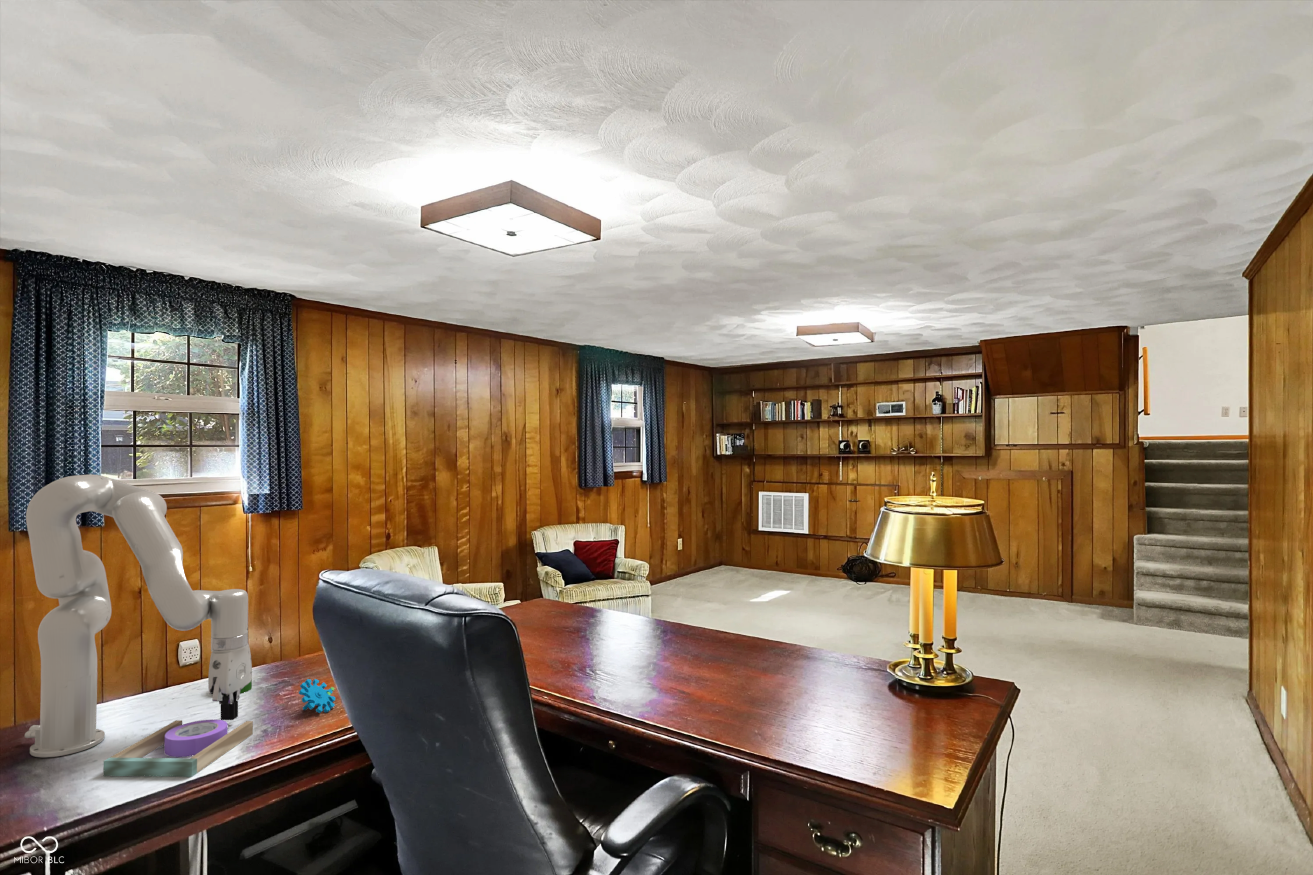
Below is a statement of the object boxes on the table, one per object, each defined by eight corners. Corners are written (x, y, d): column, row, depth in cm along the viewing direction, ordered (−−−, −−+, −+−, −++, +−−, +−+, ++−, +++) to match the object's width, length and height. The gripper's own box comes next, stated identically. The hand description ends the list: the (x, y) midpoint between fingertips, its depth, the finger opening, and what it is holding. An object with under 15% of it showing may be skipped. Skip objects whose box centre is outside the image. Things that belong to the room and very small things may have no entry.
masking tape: (178, 737, 156) (179, 720, 156) (235, 733, 159) (235, 716, 159) (153, 760, 145) (154, 742, 145) (215, 755, 148) (215, 737, 148)
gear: (316, 713, 166) (295, 680, 169) (299, 729, 167) (279, 696, 169) (346, 703, 177) (326, 672, 180) (331, 718, 177) (311, 687, 180)
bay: (103, 775, 138) (103, 760, 138) (175, 733, 158) (175, 720, 158) (191, 776, 137) (192, 761, 137) (252, 733, 158) (252, 721, 158)
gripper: (225, 651, 156) (224, 731, 156) (263, 633, 171) (263, 706, 171) (192, 651, 156) (192, 731, 156) (233, 633, 171) (233, 706, 171)
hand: (229, 718), depth 163 cm, fingers closed
